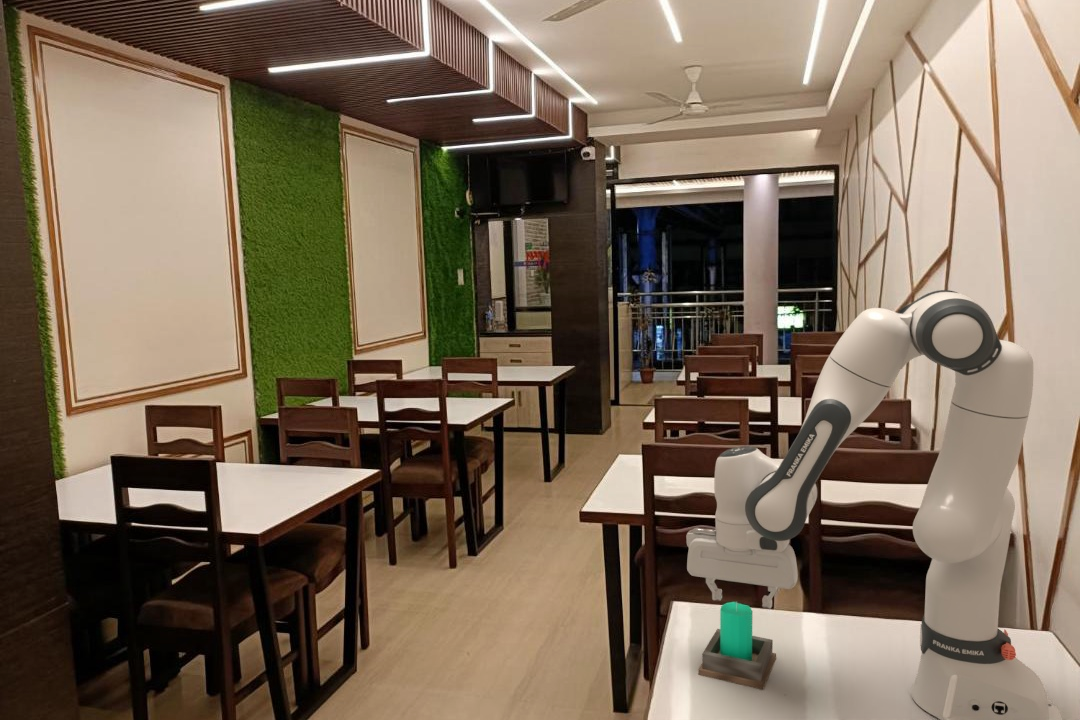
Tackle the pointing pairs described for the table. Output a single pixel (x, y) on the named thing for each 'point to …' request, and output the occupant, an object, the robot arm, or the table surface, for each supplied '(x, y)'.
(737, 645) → the candle
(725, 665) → the holder
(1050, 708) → the robot arm
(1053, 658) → the table surface
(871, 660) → the table surface
